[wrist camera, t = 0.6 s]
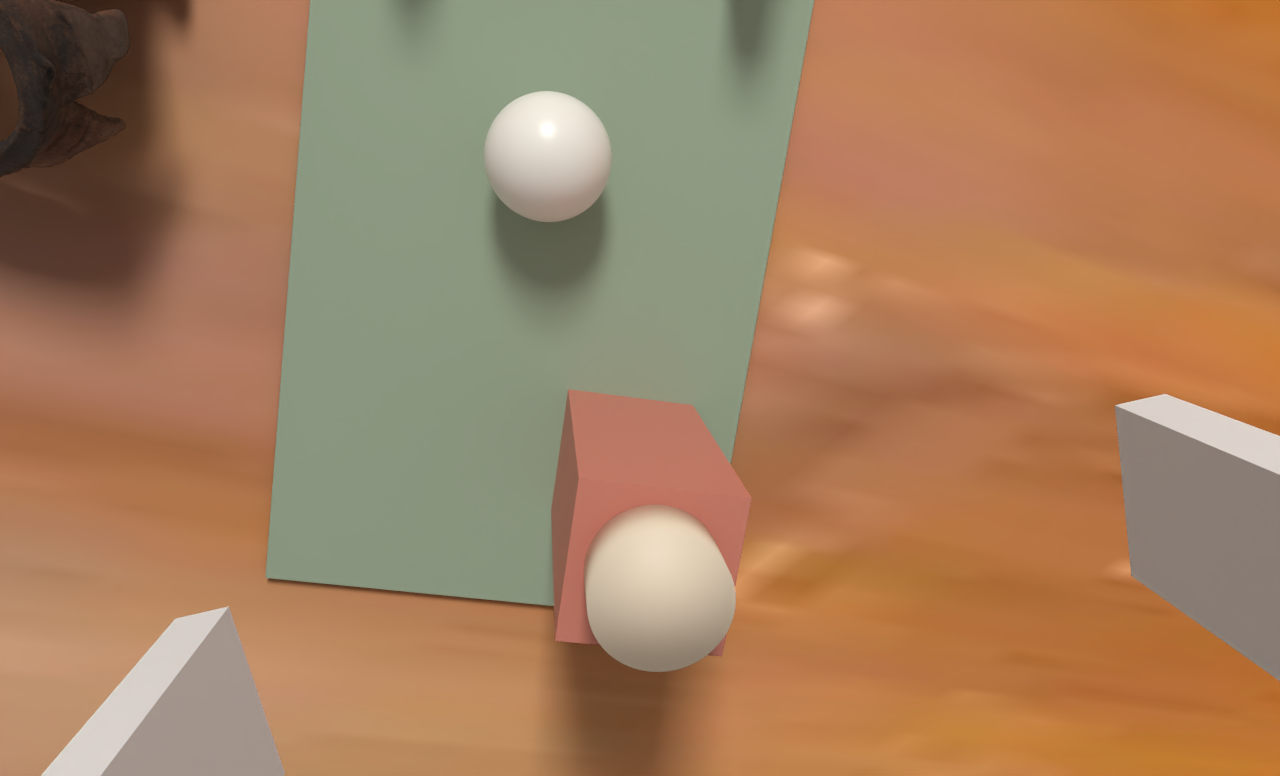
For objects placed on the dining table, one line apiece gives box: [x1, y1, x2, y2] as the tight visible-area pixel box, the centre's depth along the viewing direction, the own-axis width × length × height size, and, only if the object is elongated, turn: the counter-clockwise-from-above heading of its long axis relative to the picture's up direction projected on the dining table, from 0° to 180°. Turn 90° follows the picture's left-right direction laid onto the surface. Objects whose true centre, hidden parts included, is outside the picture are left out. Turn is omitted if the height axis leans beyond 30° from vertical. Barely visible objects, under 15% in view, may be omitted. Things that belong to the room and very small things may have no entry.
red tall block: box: [551, 389, 752, 672], centre depth 29 cm, size 4×4×12 cm
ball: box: [484, 91, 612, 222], centre depth 30 cm, size 4×4×4 cm
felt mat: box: [266, 0, 814, 606], centre depth 32 cm, size 16×34×1 cm, turn 171°
